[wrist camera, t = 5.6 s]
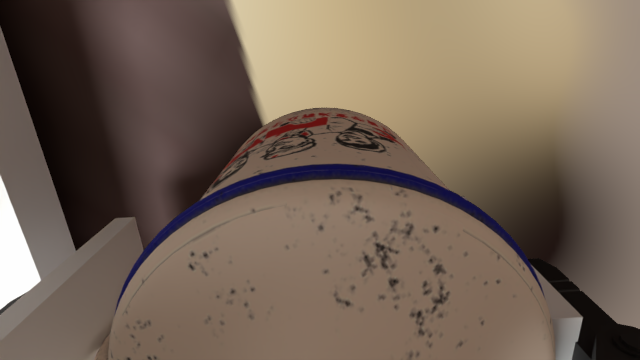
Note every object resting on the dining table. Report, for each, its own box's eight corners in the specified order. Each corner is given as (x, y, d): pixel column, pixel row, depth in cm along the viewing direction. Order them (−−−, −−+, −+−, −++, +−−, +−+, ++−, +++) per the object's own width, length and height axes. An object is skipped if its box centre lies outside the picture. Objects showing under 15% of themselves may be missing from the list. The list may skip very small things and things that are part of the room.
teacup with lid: (392, 62, 14) (691, 119, 3) (454, 257, 17) (718, 664, 6) (116, 174, 15) (-407, 505, 4) (217, 336, 18) (63, 783, 7)
